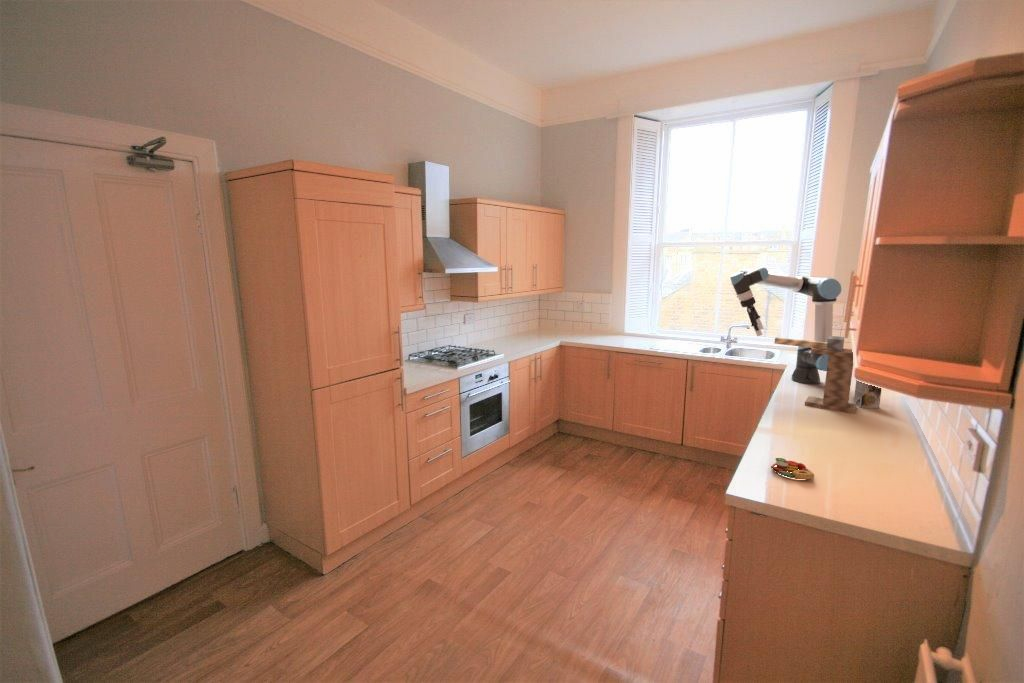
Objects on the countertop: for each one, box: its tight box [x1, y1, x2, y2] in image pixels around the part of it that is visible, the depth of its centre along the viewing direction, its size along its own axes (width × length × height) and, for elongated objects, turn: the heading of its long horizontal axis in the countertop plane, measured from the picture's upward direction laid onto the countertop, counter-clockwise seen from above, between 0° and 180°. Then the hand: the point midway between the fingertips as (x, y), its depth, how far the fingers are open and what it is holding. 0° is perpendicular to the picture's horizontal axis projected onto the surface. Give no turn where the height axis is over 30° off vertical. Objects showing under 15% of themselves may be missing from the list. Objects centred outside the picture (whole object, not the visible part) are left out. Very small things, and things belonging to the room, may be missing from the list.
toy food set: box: [770, 457, 815, 480], centre depth 166 cm, size 13×13×3 cm
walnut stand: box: [804, 347, 858, 414], centre depth 236 cm, size 21×12×30 cm, turn 49°
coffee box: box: [853, 379, 882, 409], centre depth 237 cm, size 9×6×16 cm
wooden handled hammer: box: [773, 335, 845, 352], centre depth 241 cm, size 30×10×6 cm, turn 49°
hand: (760, 332), depth 266 cm, fingers open, 13 cm apart
